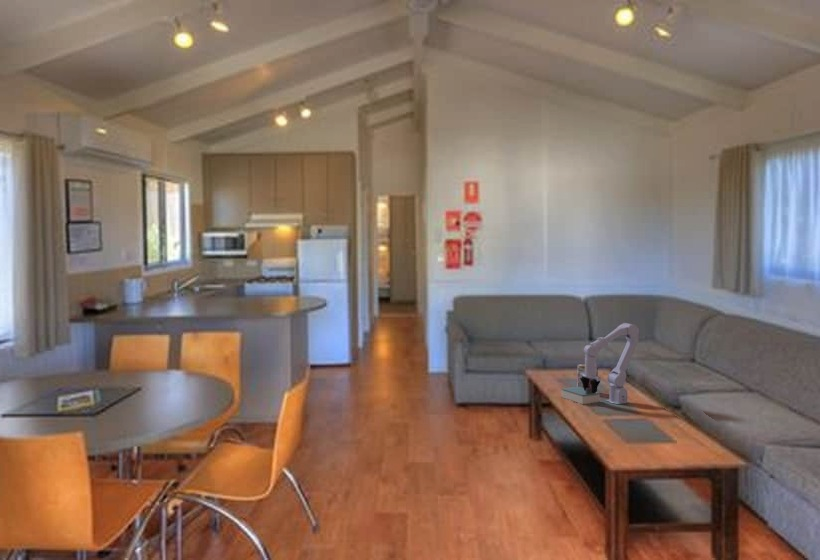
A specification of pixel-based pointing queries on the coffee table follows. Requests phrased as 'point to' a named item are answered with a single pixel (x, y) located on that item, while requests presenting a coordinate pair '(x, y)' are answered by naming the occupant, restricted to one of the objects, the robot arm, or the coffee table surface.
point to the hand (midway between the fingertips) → (590, 391)
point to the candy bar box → (582, 370)
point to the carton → (581, 398)
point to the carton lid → (580, 391)
